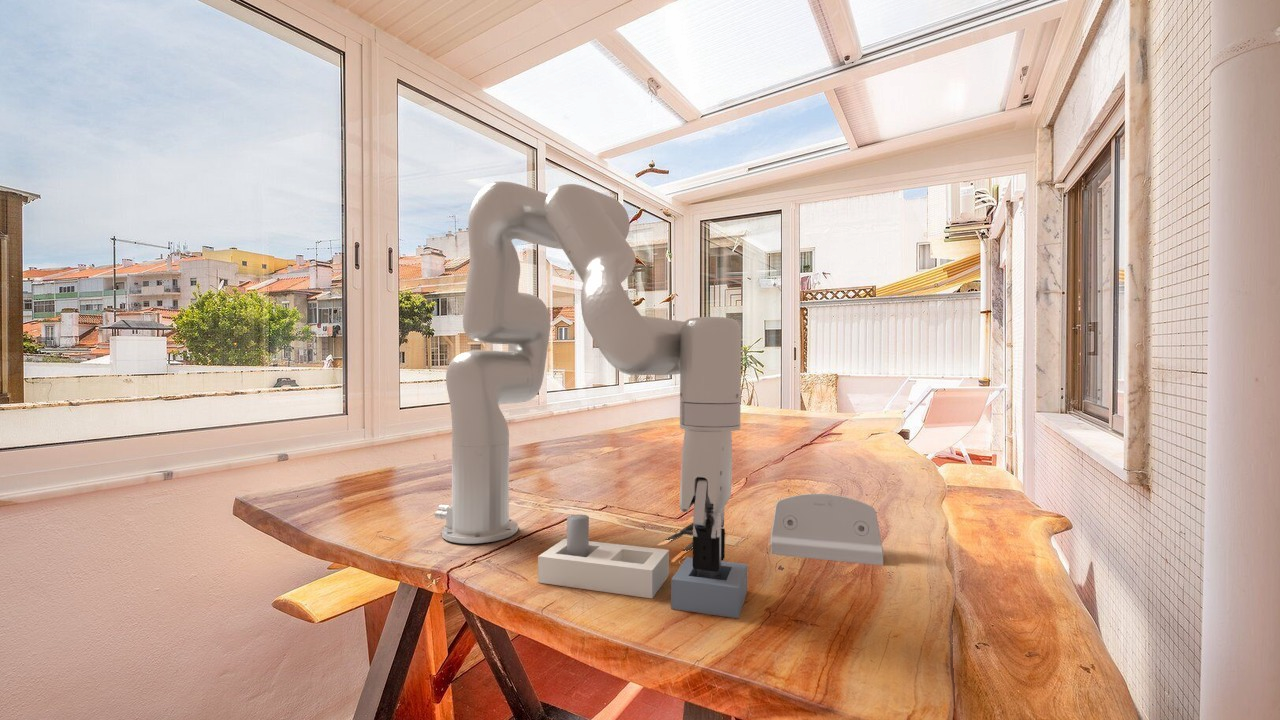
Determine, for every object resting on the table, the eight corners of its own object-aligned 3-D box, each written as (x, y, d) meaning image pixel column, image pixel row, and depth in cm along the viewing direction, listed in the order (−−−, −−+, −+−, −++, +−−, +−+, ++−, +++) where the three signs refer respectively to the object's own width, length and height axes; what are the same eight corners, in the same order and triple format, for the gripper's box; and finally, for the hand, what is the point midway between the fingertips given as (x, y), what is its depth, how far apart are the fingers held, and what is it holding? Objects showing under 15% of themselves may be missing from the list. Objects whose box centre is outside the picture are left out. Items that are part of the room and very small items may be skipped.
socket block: (671, 608, 65) (671, 579, 65) (686, 583, 73) (686, 557, 73) (738, 618, 63) (738, 587, 63) (747, 591, 70) (747, 563, 70)
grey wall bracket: (768, 554, 84) (769, 488, 87) (770, 555, 88) (771, 492, 92) (886, 565, 79) (882, 495, 83) (882, 566, 84) (879, 499, 87)
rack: (538, 582, 73) (538, 522, 73) (564, 562, 81) (564, 507, 81) (652, 598, 68) (652, 534, 68) (669, 575, 76) (669, 517, 76)
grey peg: (694, 599, 67) (694, 502, 67) (699, 590, 70) (700, 496, 70) (718, 603, 66) (719, 504, 66) (722, 593, 69) (723, 498, 69)
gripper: (694, 410, 77) (693, 540, 77) (663, 422, 61) (661, 585, 61) (748, 412, 75) (747, 546, 74) (729, 424, 59) (728, 594, 59)
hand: (708, 562), depth 68 cm, fingers closed on grey peg, 3 cm apart
